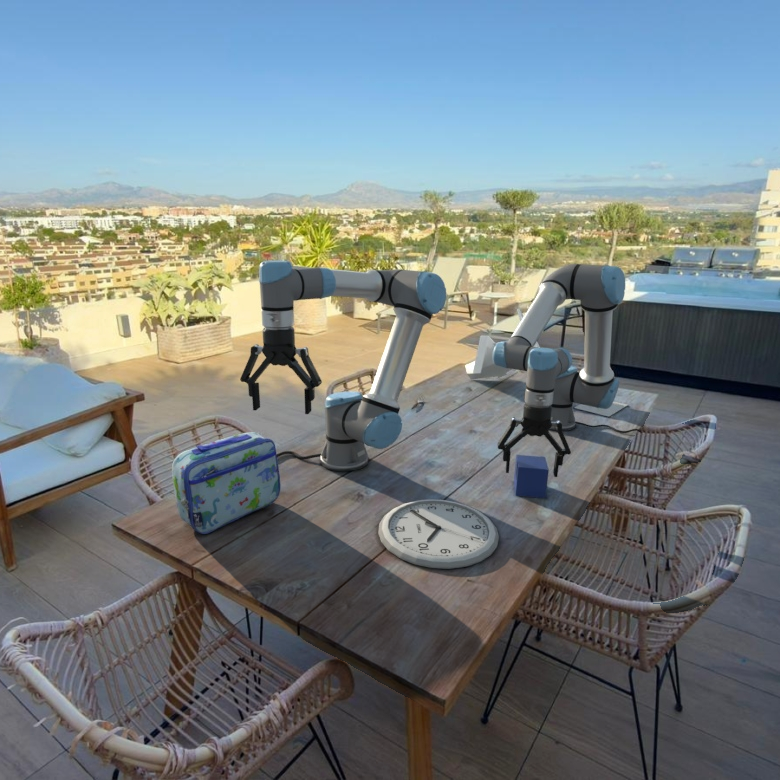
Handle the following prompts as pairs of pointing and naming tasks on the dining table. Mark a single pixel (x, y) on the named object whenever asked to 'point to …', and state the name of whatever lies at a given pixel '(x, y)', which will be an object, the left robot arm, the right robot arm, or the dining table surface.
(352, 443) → the left robot arm
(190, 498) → the lunch box
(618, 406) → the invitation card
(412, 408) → the fork
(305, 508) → the dining table surface
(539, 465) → the block
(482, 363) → the white plastic object
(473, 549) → the wall clock
